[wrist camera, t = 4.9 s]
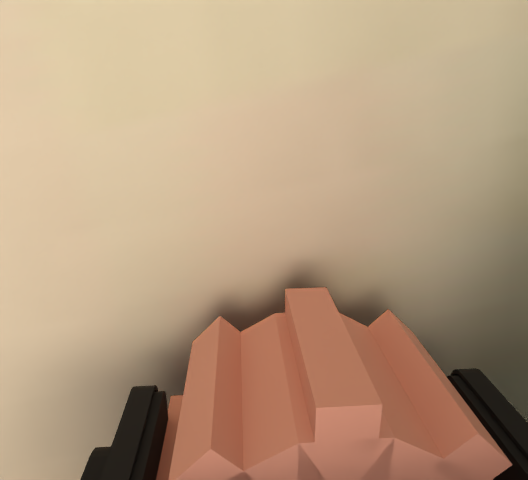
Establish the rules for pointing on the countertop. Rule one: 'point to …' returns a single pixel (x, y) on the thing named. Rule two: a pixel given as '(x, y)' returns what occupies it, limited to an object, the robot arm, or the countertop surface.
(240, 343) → the pink gear
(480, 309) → the countertop surface
